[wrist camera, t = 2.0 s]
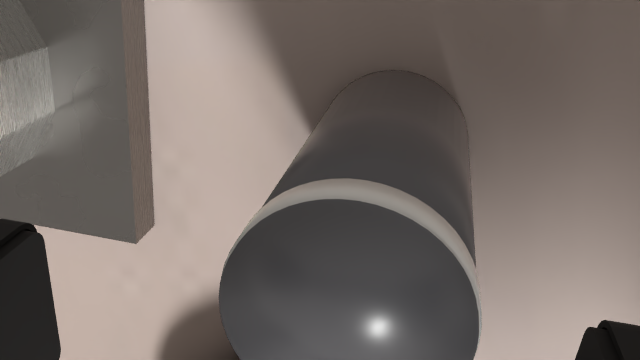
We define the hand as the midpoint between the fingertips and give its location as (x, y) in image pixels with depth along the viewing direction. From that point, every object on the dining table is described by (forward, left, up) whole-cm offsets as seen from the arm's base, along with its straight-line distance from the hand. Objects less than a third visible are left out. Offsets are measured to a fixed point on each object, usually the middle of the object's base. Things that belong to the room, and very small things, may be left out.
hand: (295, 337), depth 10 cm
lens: (-1, 0, -11) cm, 11 cm away
